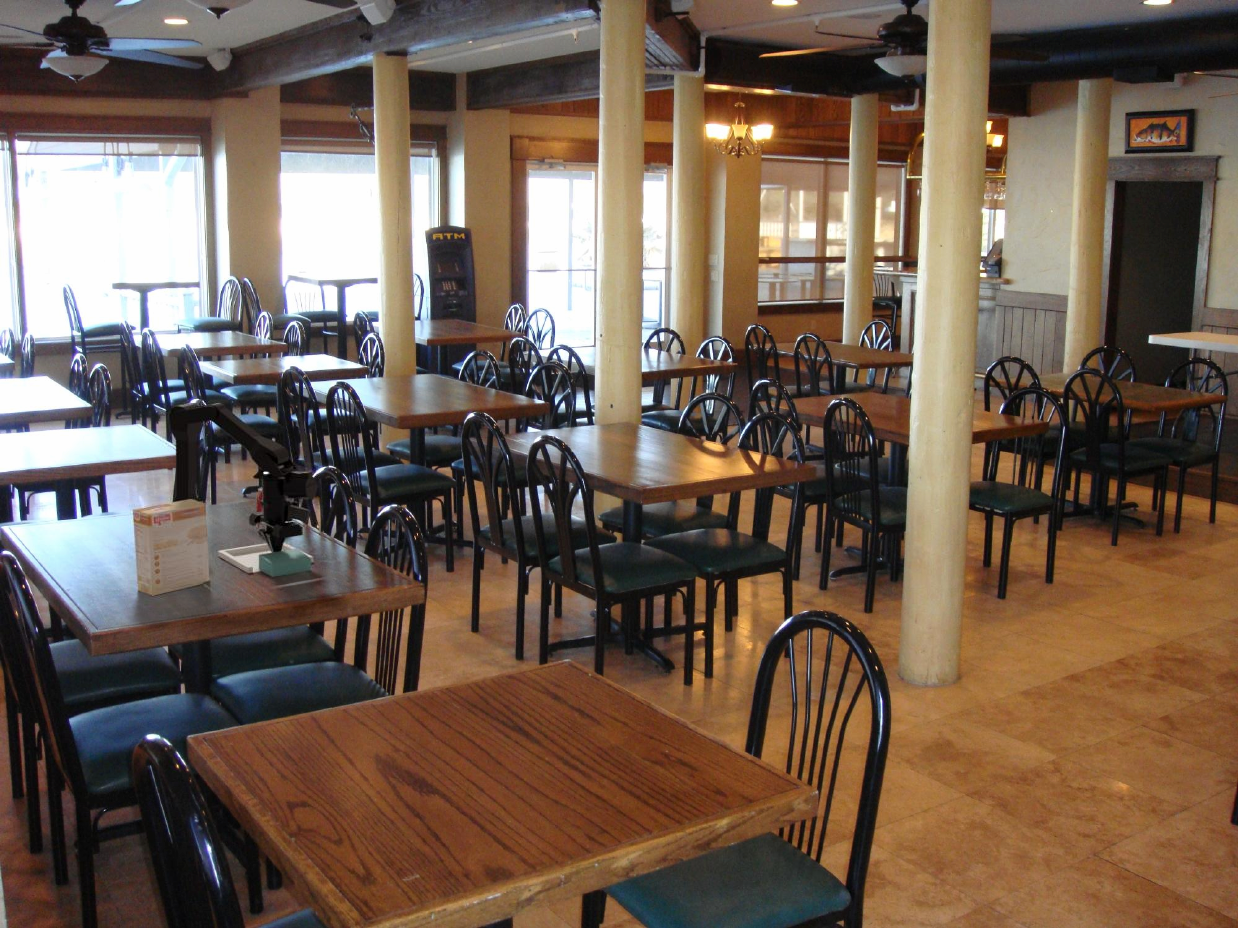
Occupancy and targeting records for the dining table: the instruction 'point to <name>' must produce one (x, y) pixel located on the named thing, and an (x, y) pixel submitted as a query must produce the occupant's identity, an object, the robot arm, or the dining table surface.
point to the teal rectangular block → (284, 562)
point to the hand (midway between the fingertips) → (276, 557)
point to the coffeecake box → (171, 546)
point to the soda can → (259, 507)
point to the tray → (249, 556)
